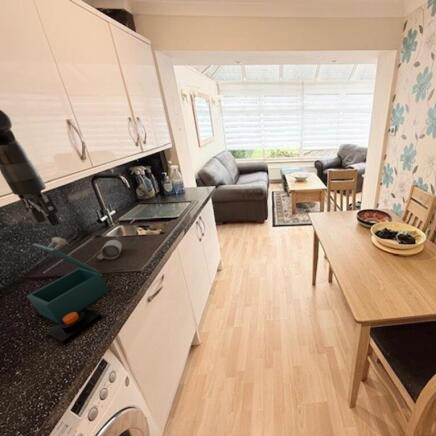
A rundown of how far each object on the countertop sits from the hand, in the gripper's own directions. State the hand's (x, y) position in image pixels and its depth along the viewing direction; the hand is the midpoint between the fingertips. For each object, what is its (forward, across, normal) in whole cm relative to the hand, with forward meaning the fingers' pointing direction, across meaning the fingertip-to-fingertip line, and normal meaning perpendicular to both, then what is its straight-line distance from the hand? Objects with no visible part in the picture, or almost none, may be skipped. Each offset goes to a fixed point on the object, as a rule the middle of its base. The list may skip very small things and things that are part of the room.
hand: (48, 223), depth 81 cm
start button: (+29, +14, -12) cm, 34 cm away
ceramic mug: (+32, -19, +22) cm, 43 cm away
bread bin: (+32, 0, -4) cm, 32 cm away
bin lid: (+15, 0, -1) cm, 15 cm away
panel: (+32, +14, -12) cm, 36 cm away
